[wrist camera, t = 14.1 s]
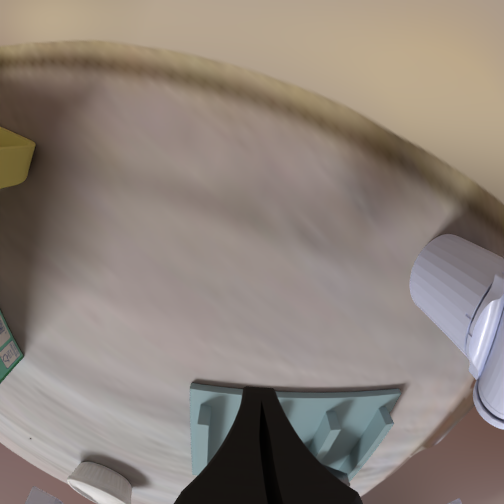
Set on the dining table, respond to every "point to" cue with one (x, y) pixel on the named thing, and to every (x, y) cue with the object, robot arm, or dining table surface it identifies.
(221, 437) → the slot rack
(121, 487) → the ramekin
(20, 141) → the plastic component
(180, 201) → the dining table surface
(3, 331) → the milk carton
